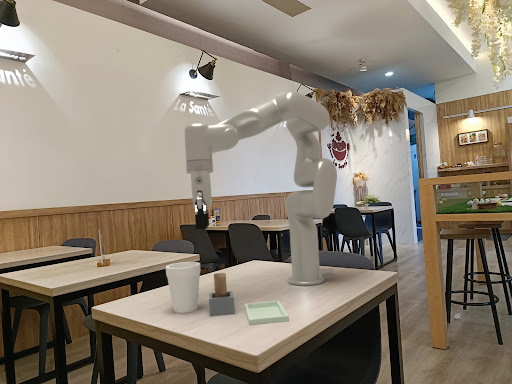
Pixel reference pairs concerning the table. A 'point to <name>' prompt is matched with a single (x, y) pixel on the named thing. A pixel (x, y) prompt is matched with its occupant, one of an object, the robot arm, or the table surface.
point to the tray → (265, 312)
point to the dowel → (220, 285)
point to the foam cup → (184, 285)
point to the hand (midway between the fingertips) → (202, 227)
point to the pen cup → (221, 304)
